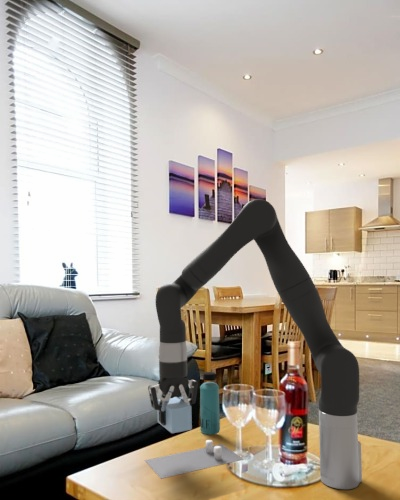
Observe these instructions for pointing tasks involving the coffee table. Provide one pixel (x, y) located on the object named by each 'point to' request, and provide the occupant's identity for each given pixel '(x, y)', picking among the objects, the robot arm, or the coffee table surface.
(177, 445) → the coffee table surface
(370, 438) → the coffee table surface
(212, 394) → the beverage bottle
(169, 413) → the pale blue upright block
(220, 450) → the stub board
